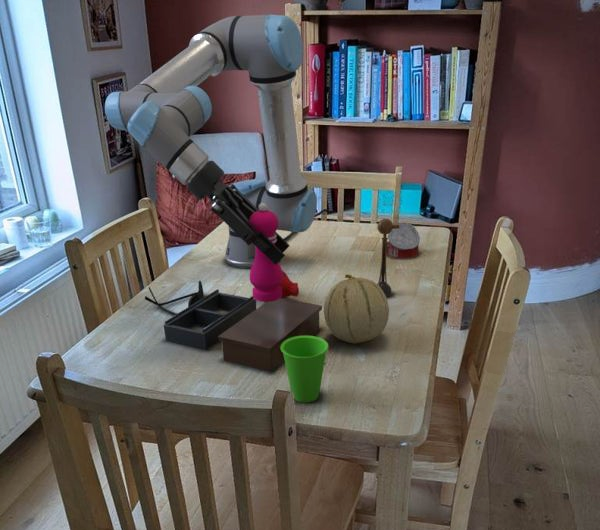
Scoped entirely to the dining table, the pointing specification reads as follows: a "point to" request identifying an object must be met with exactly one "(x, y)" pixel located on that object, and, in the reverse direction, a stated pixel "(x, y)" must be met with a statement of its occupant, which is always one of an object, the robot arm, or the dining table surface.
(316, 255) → the dining table surface
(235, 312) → the black rectangular open tray
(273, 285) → the pepper mill
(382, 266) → the wooden tabletop sculpture
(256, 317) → the brown lidded box
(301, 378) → the cup
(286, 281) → the red white pronged ornament
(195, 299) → the sunglasses
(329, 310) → the cantaloupe
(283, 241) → the robot arm
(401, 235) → the canned food
